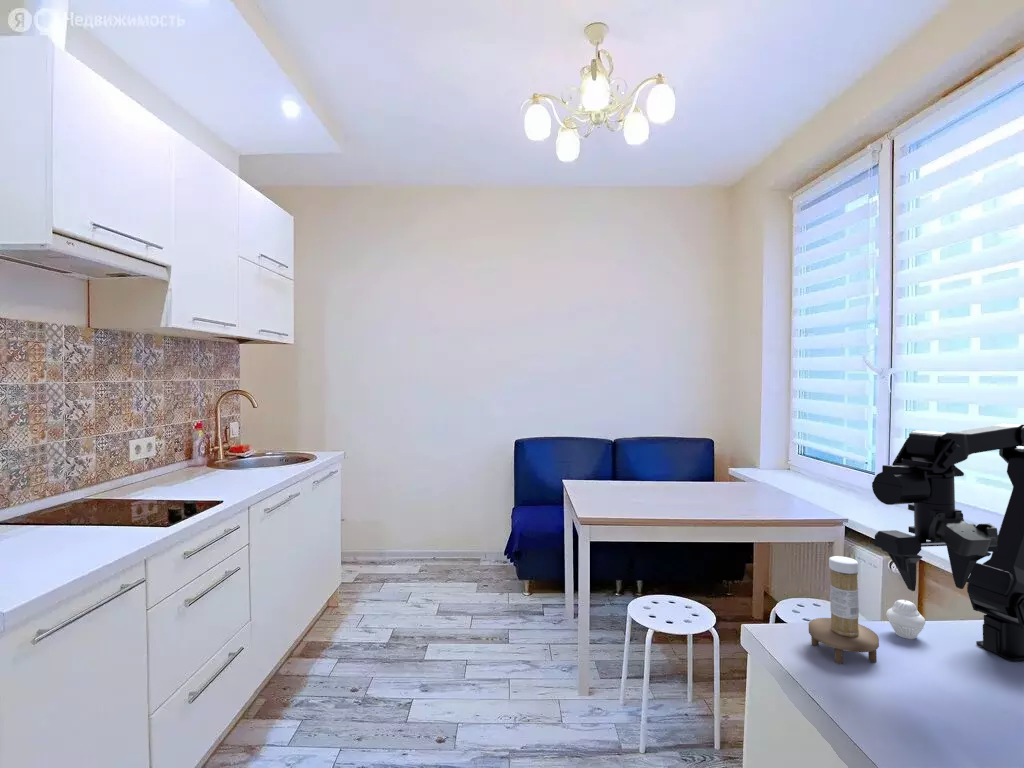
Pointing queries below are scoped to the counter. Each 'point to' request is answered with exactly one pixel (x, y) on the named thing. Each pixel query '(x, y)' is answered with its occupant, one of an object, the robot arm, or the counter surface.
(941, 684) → the counter surface
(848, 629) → the sprinkles bottle
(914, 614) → the muffin
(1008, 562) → the robot arm
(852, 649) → the walnut footstool
